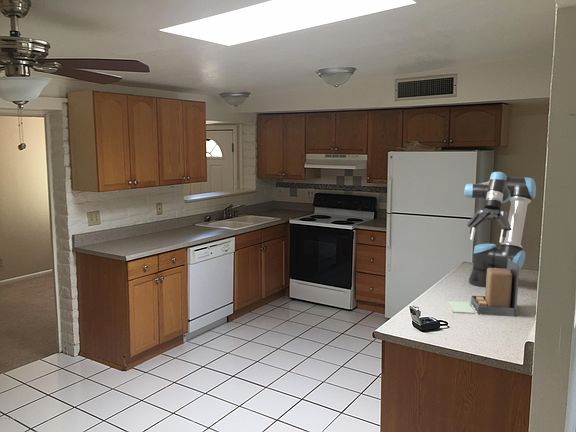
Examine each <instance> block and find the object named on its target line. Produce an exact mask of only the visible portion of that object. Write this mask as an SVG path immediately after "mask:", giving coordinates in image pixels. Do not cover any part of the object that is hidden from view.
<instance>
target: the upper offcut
mask: <svg viewBox="0 0 576 432" xmlns="http://www.w3.org/2000/svg"><path fill="white" fill-rule="evenodd" d="M475 296H476V301H477V302H478V304H479V305H480V306H487V303H486V301H485V300H484V298H483V297H477V296H478V295H475Z"/></svg>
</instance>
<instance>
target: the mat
mask: <svg viewBox="0 0 576 432" xmlns="http://www.w3.org/2000/svg"><path fill="white" fill-rule="evenodd" d="M447 303H448V305H449V307H450V310H451V312H452V313H453V314H466V313H468V314H470V315H475V314H476V313H475V311H474V309H473V308H472V307H473V306H471V303H470V302H469V301H453V300H452V301H451V300H450V301H449V300H447Z"/></svg>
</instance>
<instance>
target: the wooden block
mask: <svg viewBox="0 0 576 432" xmlns="http://www.w3.org/2000/svg"><path fill="white" fill-rule="evenodd" d="M511 287H512V273H511V272H510V271H509V270H508V269H502V268H488V269H487V278H486V287H485V295H484V296H485V301H486V303H487V306H490V307H510V300H511Z"/></svg>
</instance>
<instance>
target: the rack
mask: <svg viewBox="0 0 576 432" xmlns="http://www.w3.org/2000/svg"><path fill="white" fill-rule="evenodd" d="M519 268H520V267H519V266H518V265H516V264H515V263H514V262H513V261H512V260H510V259H508V261H507V269H508V270H509V271H510V272H511V273H512V287H511V300H510V307H490V306H480V305H479V304H478V302H477V301H476V296H477V297H483V298H484V300H485V295H484V296H483V295H471V296H470V297H471V298H470V305H473V306H472V307H473V308H475V309H474V310H475V311H477V312H476V313H477V315H479V314H482V316H499V317H503V316H504V317H516V316H517V307H518V305H517V304H518V294H519V293H518V291H519V281H520V279H519V277H520V270H519Z"/></svg>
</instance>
